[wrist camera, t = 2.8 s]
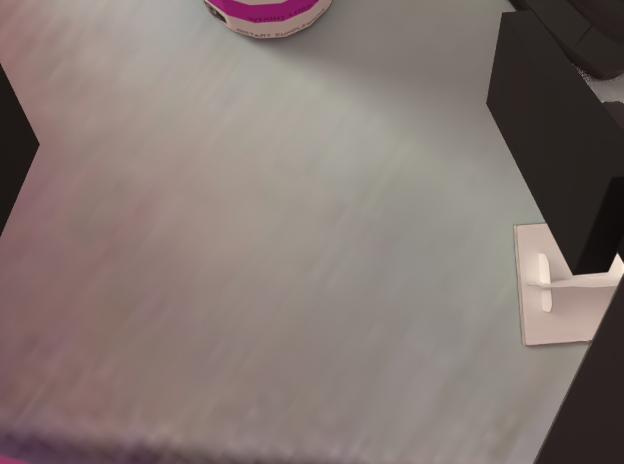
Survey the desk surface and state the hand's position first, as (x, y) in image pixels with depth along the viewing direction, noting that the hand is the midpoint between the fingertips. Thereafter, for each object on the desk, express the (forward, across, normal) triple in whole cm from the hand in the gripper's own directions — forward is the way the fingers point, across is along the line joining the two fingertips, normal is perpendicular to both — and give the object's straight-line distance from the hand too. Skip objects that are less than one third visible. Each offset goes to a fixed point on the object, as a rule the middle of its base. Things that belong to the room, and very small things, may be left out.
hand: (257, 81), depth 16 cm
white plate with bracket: (+6, +20, -18) cm, 27 cm away
